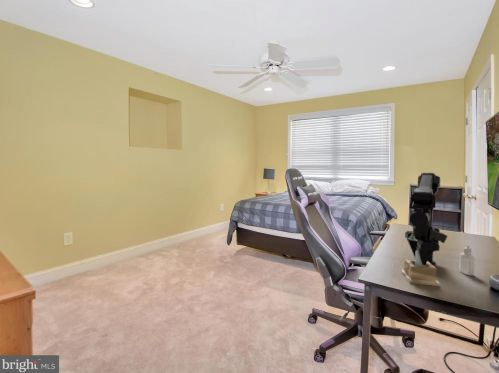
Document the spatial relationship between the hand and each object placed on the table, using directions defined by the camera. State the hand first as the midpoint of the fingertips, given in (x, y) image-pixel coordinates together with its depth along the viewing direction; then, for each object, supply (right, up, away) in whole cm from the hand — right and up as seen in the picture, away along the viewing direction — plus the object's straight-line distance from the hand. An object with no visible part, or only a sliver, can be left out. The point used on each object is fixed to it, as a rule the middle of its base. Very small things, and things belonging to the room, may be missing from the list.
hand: (420, 261), depth 109 cm
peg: (0, -6, 0) cm, 6 cm away
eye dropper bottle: (+23, -7, +5) cm, 24 cm away
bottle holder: (0, -7, +1) cm, 7 cm away
